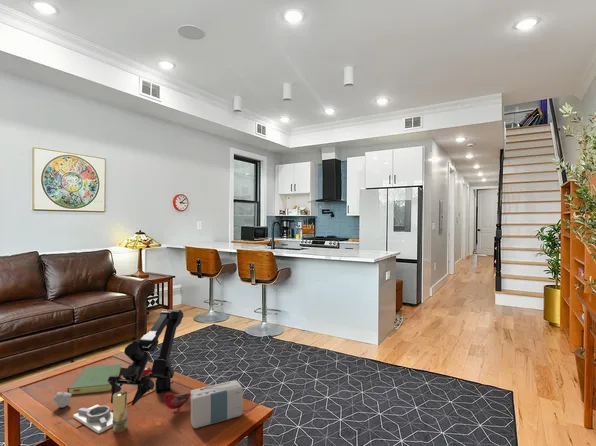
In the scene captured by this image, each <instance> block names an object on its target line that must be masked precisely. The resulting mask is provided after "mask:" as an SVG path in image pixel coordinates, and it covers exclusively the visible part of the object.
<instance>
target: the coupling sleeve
mask: <svg viewBox="0 0 596 446" xmlns="http://www.w3.org/2000/svg"><path fill="white" fill-rule="evenodd" d="M127 401H128V394H127V391H125V390H124V391H123V390H120V392H117V393H115V394H113V404H112V413H113V421H112V423H113V427H112V431H113V432H114V433H116V434H118V433H123V432H125V431H126V430H127V428H128V402H127Z"/></svg>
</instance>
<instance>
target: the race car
mask: <svg viewBox="0 0 596 446" xmlns="http://www.w3.org/2000/svg"><path fill="white" fill-rule="evenodd" d="M151 370H152V367H145V369H144V371H145V373H144V374H142V376H141V379H142V378H150V377H151V376H152V371H151ZM152 377H153V376H152ZM152 377H151V378H152Z"/></svg>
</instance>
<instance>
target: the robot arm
mask: <svg viewBox="0 0 596 446" xmlns="http://www.w3.org/2000/svg"><path fill="white" fill-rule="evenodd" d="M183 318H184V312H183V311H182V310H181V309H170V308H169V309H168V310H162V311H160V312H159V316H158V318H157V320H156V321H155V322H154V324H153V325H152V327H151V328H150V330H149V331H148V332H147V333H146V334H143V336H142V337H141V338H140V339H139V340H132V342H131V343H129V344H128V345H127V346H126V347H125V348H124V351H123V352H124V354H125V356H126V357H127V358H128V359H130V361H132V363H131V364H130V365H128V367H122V368H120V372H119V376H115V375H111V376H110V377H109V378H108V380H107V382H108V383H109V384H110V385H111V387H112V389H111V394H110V395H111V398H110V403H111V404H112V405H113V394H115V393H117V392H120V391H122V386H123V385H130V386H137V388H136V389H137V390H136V392H135V395H134V397H133V399H132V403H131V406H133V407H134V406H135V405H136V404H137V403H138V401H139V400H140V399H141V398H142V397H144V395H145V394H146V393H148V392H150V390H152V391H153V390H154V389H155V391H156V393H157V394H160V393H165V392H166V393H167V392H171V391H172V387H171V379H173V378H174V375H175V370H174V369H173V367H172V361H171V358H170V357H171V353H172V347H173V344H174V339H175V335H176V331H177V328H178V327H179V325H180V324H181V323H182V320H183ZM165 327H166V328H165ZM164 329H165V332H164V335H163V340H162V343H161V344H162V345H161V348H160V352H159V356H158V357H157V358H155V359H154V360H153V363H152V365H151V366H152V367H151V368H152V370H151V371H152V378H153V379H155V381H153V379H151V378H150V377H145V378H141V376H142V374H144V373H145V371H144V369H145V368H146V366H147V364H148V362H149V361H151V360H152V357H151V353H152V352H154V351H156V349H157V347H158V345H159V337H160V336H161V334H162V333H163V331H164ZM121 376H122V377H121Z"/></svg>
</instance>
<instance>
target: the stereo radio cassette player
mask: <svg viewBox="0 0 596 446" xmlns="http://www.w3.org/2000/svg"><path fill="white" fill-rule="evenodd" d="M235 367H236V366H235V365H233V367H232V368H230V369H229V370H227V371H225V372H224V373H222V374H221V375H220V376H218V377H217V378H215V379H214V380H213V381H211V382H210V383H209V384H207V385H206V386H204V387H200V388H195V389H191V390H190V393H191V396H190V423H191V425H192V427H193V428H194V429H198V428H201V427H202V428H203V427H205V426H208V425H213V424H216V423H220V422H223V421H228V420H231V419H234V418H239V417H241V416H242V415H243V411H244V410H243V407H244V405H243V404H244V403H243V402H244V401H243V400H244V390H243V389H244V387H243V386H242V385H241V383H240V382H239V381H238V380H236V379H235V380H230V381H226V382H221V383H217V384H214V383H215V382H216V381H217V380H219V379H220V378H221V377H223V376H225V375H226V374H227V373H228V372H230V371H231V370H232V369H233V368H235Z"/></svg>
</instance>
